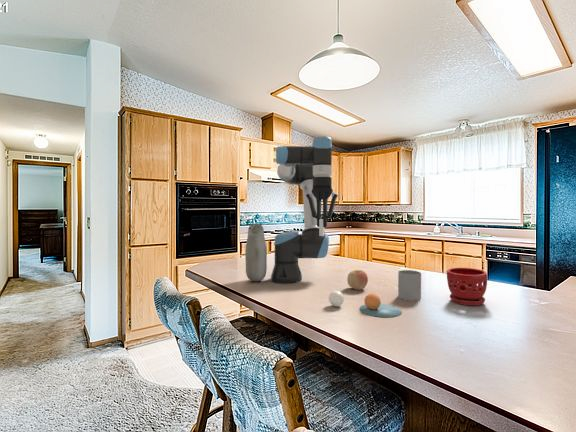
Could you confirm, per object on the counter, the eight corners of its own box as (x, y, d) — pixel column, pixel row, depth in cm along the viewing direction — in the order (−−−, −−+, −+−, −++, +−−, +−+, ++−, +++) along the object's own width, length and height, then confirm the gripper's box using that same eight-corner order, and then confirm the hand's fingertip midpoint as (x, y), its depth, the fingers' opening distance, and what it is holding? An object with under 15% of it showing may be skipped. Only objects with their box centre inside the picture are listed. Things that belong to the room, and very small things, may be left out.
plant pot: (450, 295, 128) (451, 265, 128) (489, 301, 120) (489, 269, 119) (442, 303, 118) (443, 271, 117) (483, 310, 109) (484, 275, 109)
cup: (422, 301, 120) (423, 275, 120) (400, 300, 122) (400, 274, 122) (418, 295, 129) (418, 270, 128) (397, 294, 130) (397, 269, 130)
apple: (366, 286, 142) (366, 269, 142) (369, 292, 133) (369, 273, 133) (346, 286, 143) (346, 268, 143) (348, 291, 134) (348, 272, 134)
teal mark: (351, 308, 112) (351, 307, 112) (379, 301, 119) (379, 301, 119) (380, 320, 100) (380, 319, 100) (410, 312, 107) (410, 312, 107)
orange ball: (378, 290, 110) (386, 305, 109) (370, 291, 115) (377, 305, 114) (366, 297, 108) (374, 312, 107) (358, 298, 113) (366, 312, 112)
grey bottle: (243, 280, 156) (242, 223, 155) (262, 278, 160) (262, 222, 159) (249, 284, 147) (248, 224, 146) (269, 282, 151) (269, 223, 150)
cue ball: (344, 290, 113) (348, 305, 112) (338, 288, 118) (341, 302, 118) (330, 294, 111) (334, 309, 111) (324, 292, 117) (328, 307, 116)
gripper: (303, 176, 125) (303, 235, 126) (336, 175, 120) (335, 237, 122) (309, 177, 132) (309, 233, 133) (340, 176, 127) (339, 235, 129)
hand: (321, 235), depth 128 cm, fingers closed
